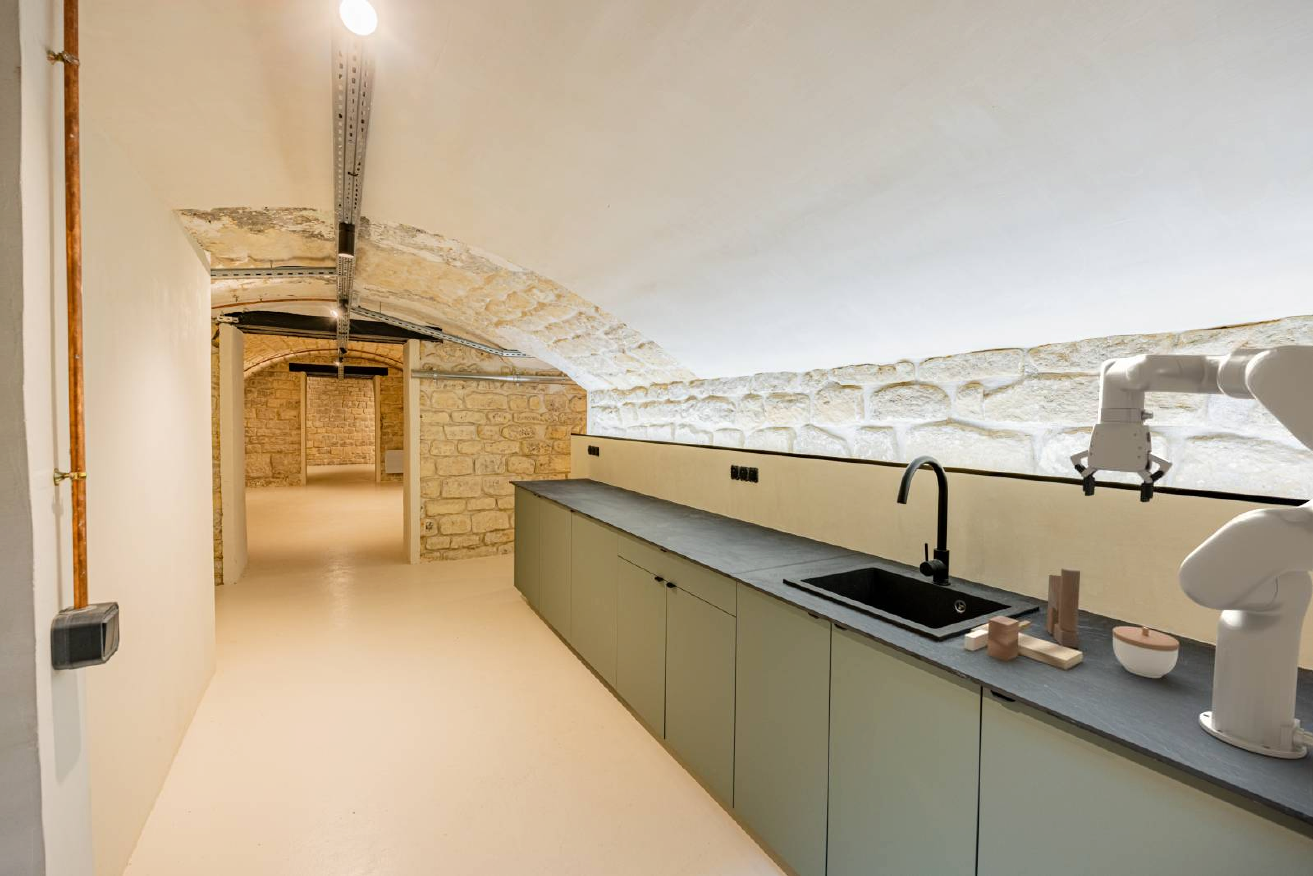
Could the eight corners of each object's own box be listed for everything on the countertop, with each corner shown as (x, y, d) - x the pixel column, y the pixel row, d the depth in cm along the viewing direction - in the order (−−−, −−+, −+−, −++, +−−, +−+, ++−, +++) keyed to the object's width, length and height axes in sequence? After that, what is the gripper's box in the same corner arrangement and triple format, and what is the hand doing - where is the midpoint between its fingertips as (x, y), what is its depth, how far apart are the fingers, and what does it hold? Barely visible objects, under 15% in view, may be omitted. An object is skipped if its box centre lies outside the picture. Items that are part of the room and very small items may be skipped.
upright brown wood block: (1036, 647, 133) (1038, 613, 132) (1006, 661, 125) (1007, 625, 125) (1017, 641, 136) (1019, 608, 136) (987, 654, 128) (988, 619, 128)
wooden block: (1062, 632, 143) (1066, 560, 142) (1079, 649, 132) (1083, 572, 132) (1045, 630, 144) (1049, 559, 143) (1060, 646, 134) (1064, 570, 133)
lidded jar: (1183, 674, 120) (1186, 630, 120) (1169, 688, 114) (1172, 642, 113) (1119, 656, 129) (1122, 615, 128) (1103, 668, 122) (1105, 625, 122)
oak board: (1082, 661, 126) (1082, 652, 126) (1065, 669, 121) (1066, 660, 121) (987, 631, 142) (988, 623, 142) (970, 637, 138) (970, 629, 138)
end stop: (988, 644, 134) (989, 632, 134) (972, 651, 130) (973, 638, 130) (980, 641, 136) (980, 629, 135) (964, 648, 132) (964, 635, 132)
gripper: (1180, 418, 116) (1175, 503, 116) (1080, 417, 130) (1076, 492, 131) (1167, 418, 111) (1162, 506, 112) (1065, 416, 126) (1061, 494, 127)
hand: (1116, 498), depth 121 cm, fingers open, 9 cm apart
